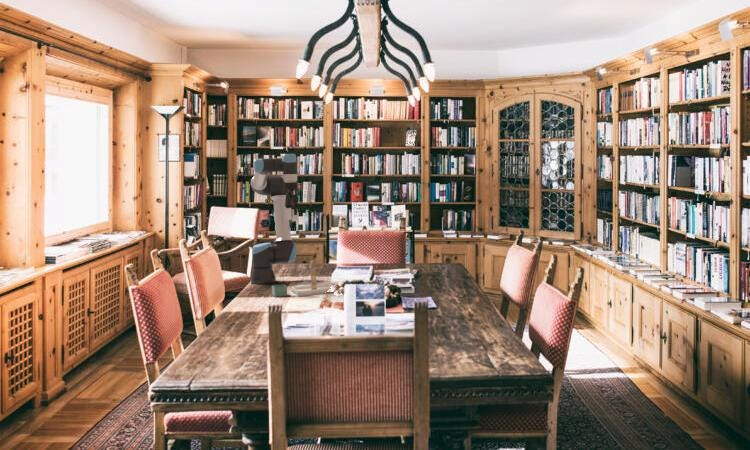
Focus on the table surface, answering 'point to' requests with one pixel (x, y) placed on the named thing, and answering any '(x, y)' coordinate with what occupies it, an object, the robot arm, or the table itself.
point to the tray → (308, 291)
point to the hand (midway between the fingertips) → (292, 220)
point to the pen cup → (279, 290)
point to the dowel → (313, 275)
